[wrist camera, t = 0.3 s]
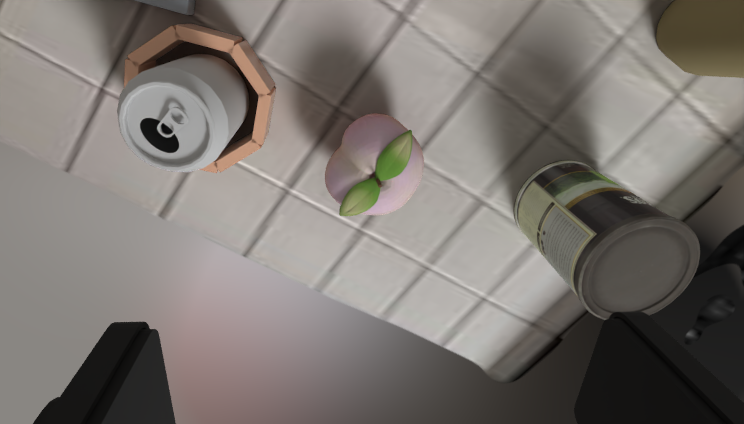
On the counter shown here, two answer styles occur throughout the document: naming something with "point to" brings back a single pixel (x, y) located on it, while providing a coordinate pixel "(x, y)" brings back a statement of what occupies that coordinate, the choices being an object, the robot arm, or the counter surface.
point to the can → (183, 112)
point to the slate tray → (173, 5)
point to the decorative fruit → (374, 166)
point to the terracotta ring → (244, 59)
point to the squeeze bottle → (704, 36)
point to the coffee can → (606, 240)
